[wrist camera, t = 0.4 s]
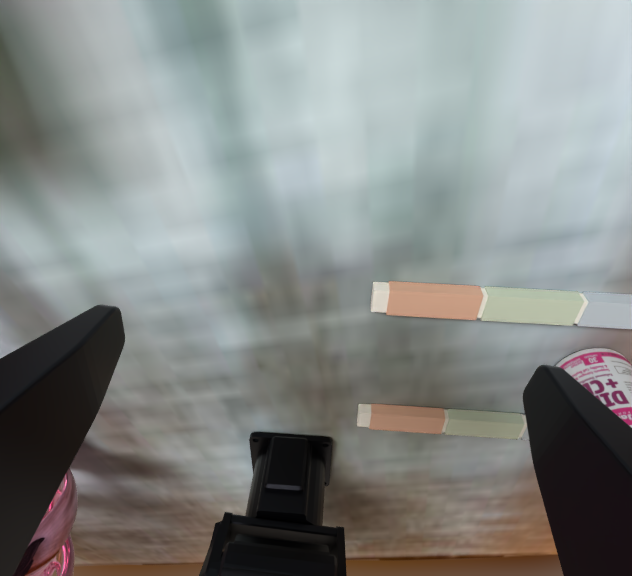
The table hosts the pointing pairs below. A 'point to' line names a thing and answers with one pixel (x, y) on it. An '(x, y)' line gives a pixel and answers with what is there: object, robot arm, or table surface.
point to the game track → (487, 307)
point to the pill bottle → (604, 378)
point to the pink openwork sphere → (53, 536)
